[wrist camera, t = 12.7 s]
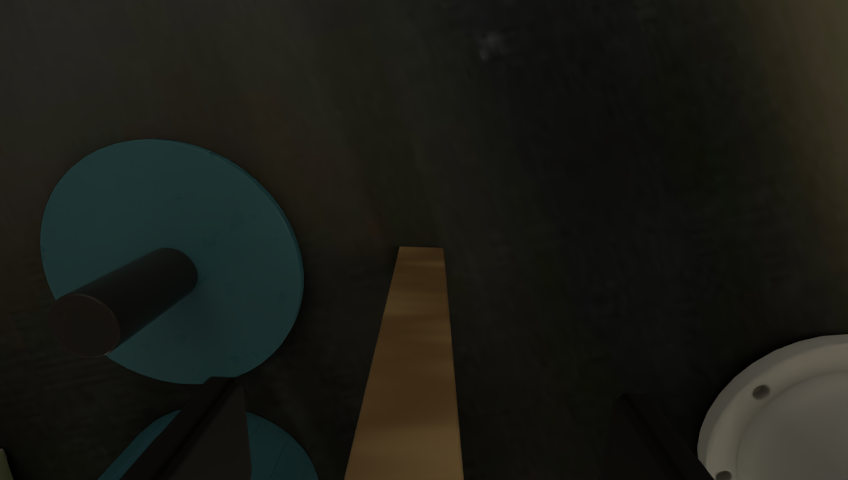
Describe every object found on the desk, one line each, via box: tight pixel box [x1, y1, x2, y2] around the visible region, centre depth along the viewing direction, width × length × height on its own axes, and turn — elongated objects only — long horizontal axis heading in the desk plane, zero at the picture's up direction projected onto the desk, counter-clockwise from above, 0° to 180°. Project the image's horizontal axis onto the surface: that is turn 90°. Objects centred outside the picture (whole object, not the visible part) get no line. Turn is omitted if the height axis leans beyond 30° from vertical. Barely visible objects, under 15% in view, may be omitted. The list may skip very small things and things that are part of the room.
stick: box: [344, 247, 464, 480], centre depth 14 cm, size 2×2×15 cm
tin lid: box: [40, 139, 304, 384], centre depth 19 cm, size 13×13×7 cm
